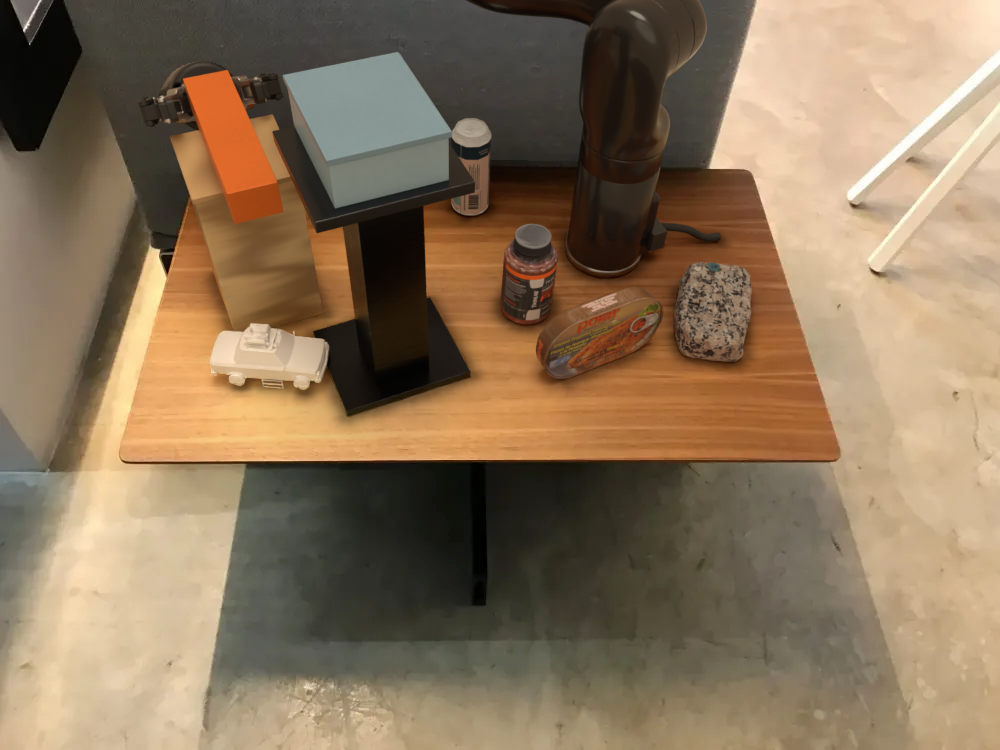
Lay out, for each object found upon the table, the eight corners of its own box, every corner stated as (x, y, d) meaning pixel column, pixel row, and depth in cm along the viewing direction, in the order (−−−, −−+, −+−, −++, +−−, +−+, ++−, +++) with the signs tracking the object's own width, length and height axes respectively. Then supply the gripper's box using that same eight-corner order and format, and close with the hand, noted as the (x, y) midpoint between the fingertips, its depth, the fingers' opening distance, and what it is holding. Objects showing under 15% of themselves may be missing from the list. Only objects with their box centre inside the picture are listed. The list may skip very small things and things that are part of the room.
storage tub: (401, 100, 79) (398, 51, 75) (452, 181, 72) (452, 131, 68) (291, 125, 76) (282, 74, 72) (333, 211, 69) (326, 160, 65)
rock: (672, 280, 104) (680, 253, 100) (744, 289, 103) (754, 262, 100) (671, 359, 96) (679, 332, 93) (749, 369, 96) (760, 343, 92)
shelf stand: (427, 296, 100) (420, 98, 79) (470, 377, 93) (475, 181, 72) (311, 330, 96) (271, 130, 75) (347, 417, 89) (314, 222, 68)
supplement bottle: (546, 331, 98) (555, 259, 89) (495, 322, 98) (500, 249, 89) (554, 294, 101) (564, 222, 93) (505, 285, 102) (510, 212, 93)
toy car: (323, 397, 91) (315, 356, 85) (211, 388, 91) (196, 347, 85) (333, 354, 94) (326, 312, 89) (225, 346, 94) (212, 304, 89)
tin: (542, 389, 93) (549, 338, 86) (528, 368, 94) (534, 317, 88) (657, 343, 97) (672, 292, 91) (642, 325, 99) (655, 273, 92)
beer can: (495, 203, 111) (499, 125, 102) (475, 223, 109) (477, 145, 99) (464, 189, 113) (466, 110, 103) (444, 208, 110) (443, 130, 101)
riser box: (299, 255, 104) (272, 113, 88) (325, 314, 98) (301, 173, 82) (213, 278, 101) (169, 135, 85) (234, 340, 95) (191, 199, 79)
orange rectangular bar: (234, 99, 89) (227, 69, 87) (283, 212, 79) (277, 182, 76) (191, 108, 88) (182, 78, 85) (234, 224, 78) (226, 194, 75)
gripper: (128, 74, 94) (128, 76, 80) (256, 49, 98) (278, 47, 84) (151, 143, 97) (155, 156, 83) (274, 116, 101) (298, 124, 87)
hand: (217, 101), depth 84 cm, fingers open, 8 cm apart
